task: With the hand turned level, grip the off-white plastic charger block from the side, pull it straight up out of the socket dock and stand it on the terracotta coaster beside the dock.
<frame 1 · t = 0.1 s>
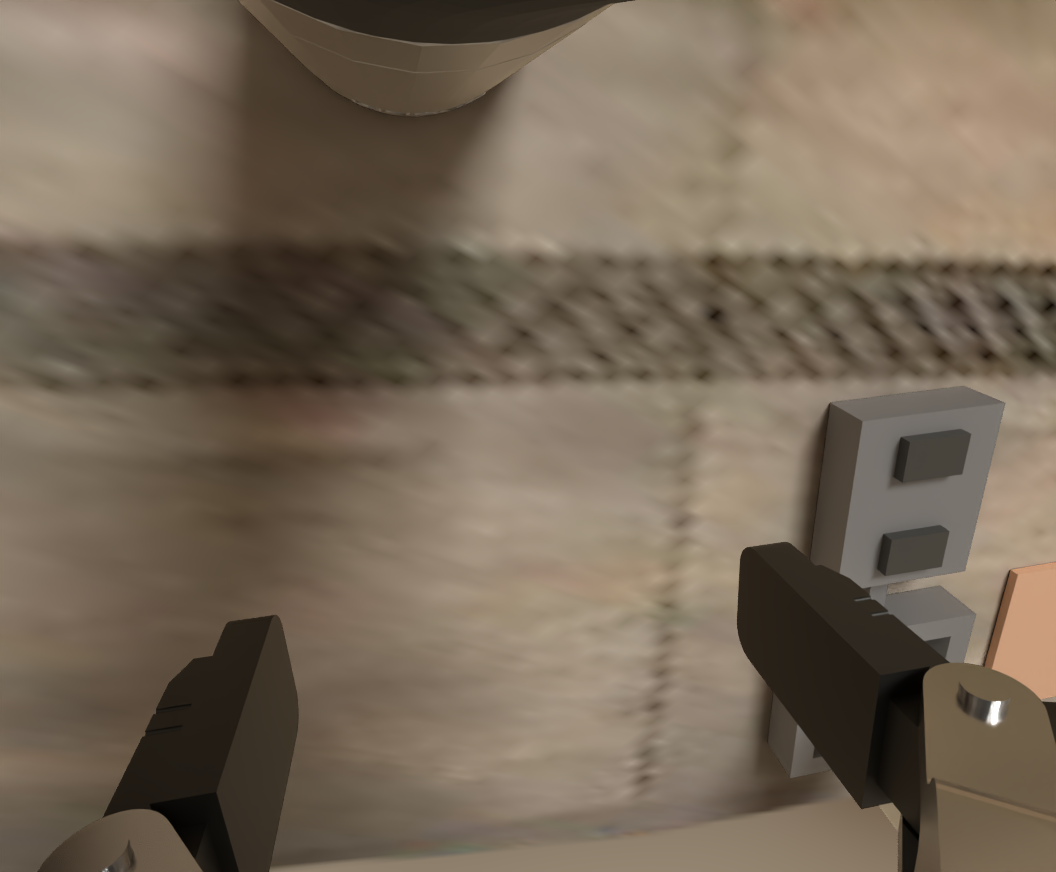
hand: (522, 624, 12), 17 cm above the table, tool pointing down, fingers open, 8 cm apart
charging dock: (851, 666, 38), on the table
charger block: (851, 666, 38), resting in charging dock
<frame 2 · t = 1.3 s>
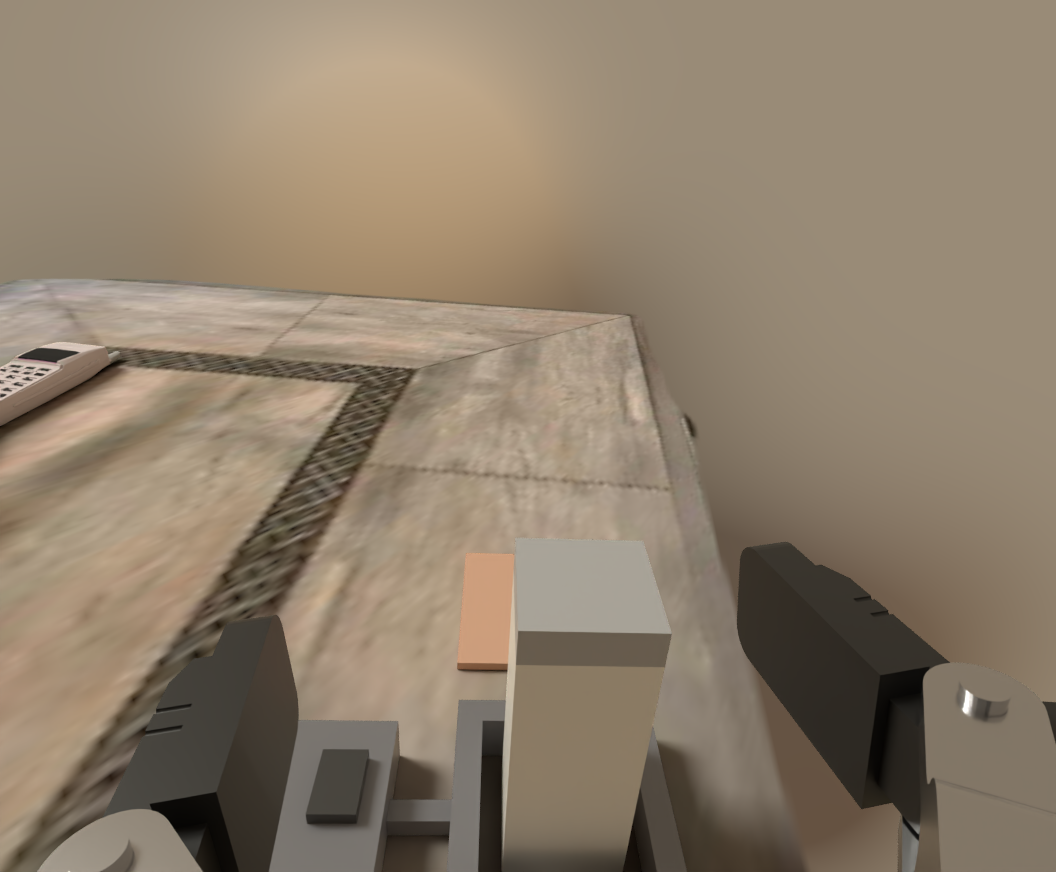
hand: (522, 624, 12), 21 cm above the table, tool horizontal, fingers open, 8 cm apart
charging dock: (556, 824, 30), on the table
charger block: (556, 824, 30), resting in charging dock
mobile phone: (14, 408, 64), on the table
coaster: (541, 609, 43), on the table
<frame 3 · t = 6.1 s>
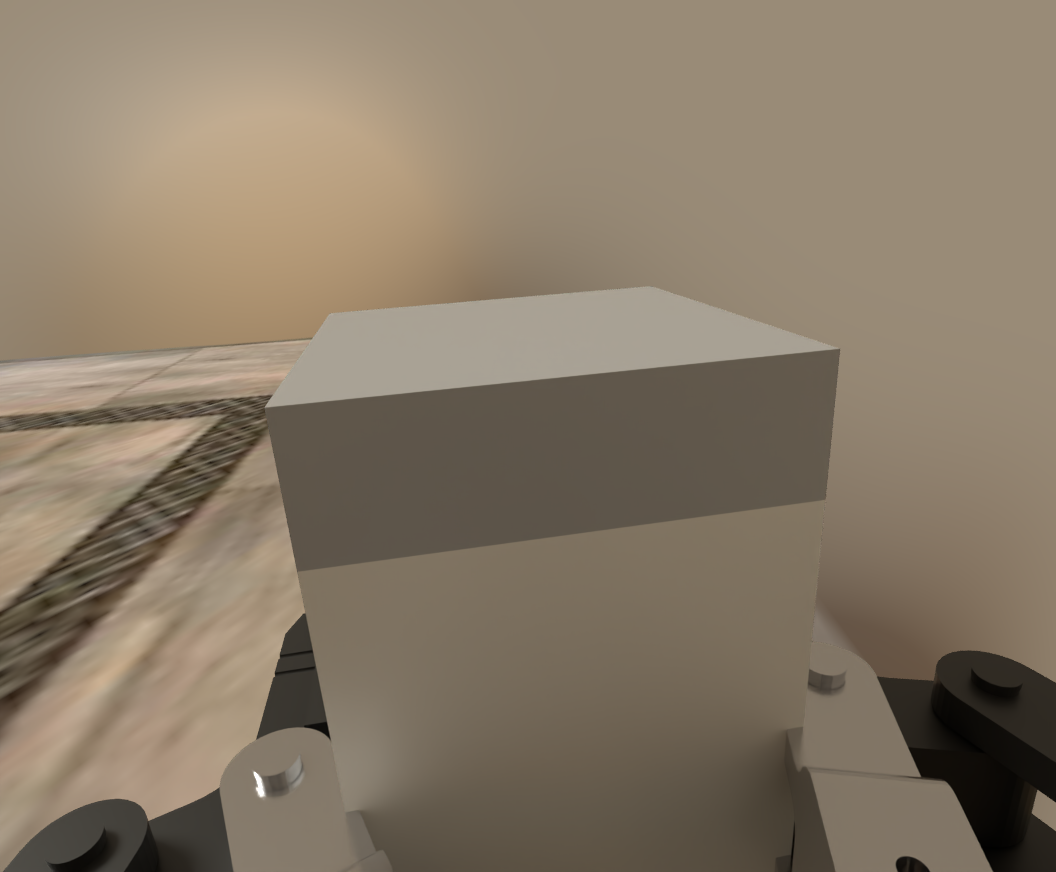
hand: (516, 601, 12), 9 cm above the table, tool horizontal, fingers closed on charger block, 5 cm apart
when the fingers open (10 cm above the table, at t = 11.6 s): charger block stays where it is, resting on coaster.
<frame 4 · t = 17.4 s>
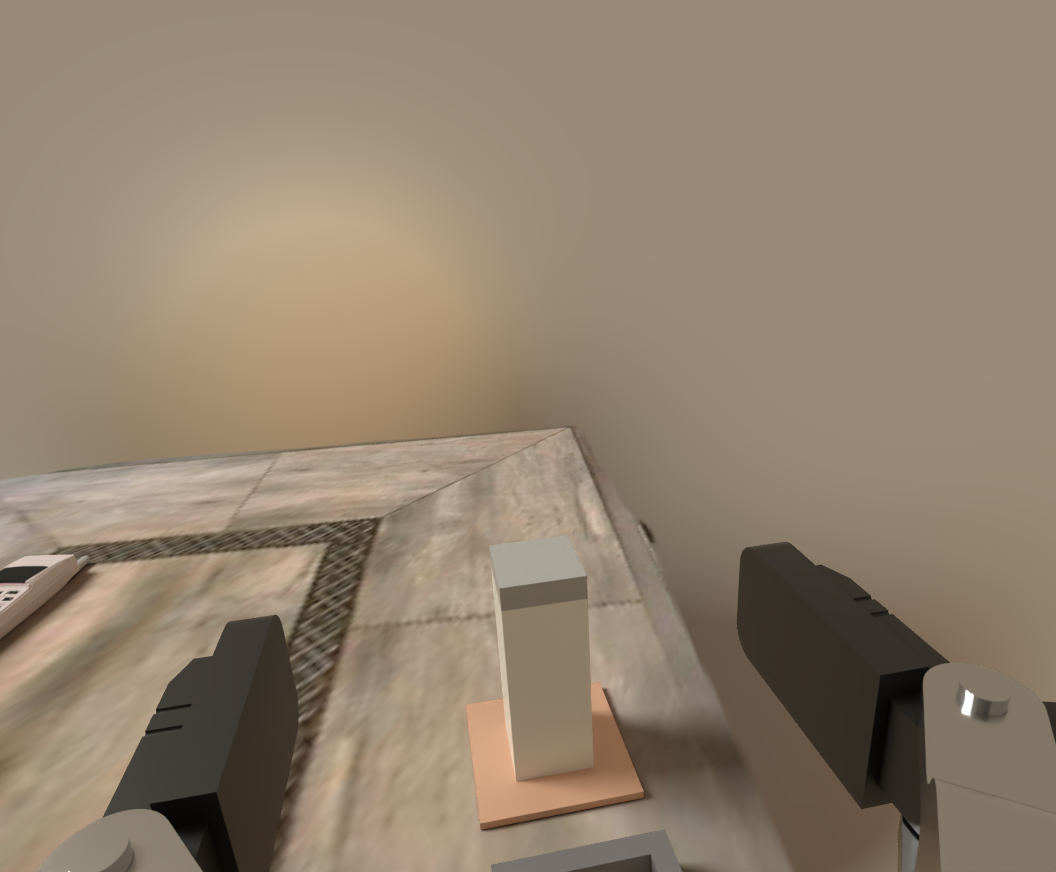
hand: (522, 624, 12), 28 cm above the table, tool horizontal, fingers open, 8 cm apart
charger block: (547, 744, 45), resting on coaster
coaster: (547, 750, 45), on the table
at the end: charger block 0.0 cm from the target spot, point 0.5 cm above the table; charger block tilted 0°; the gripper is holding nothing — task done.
